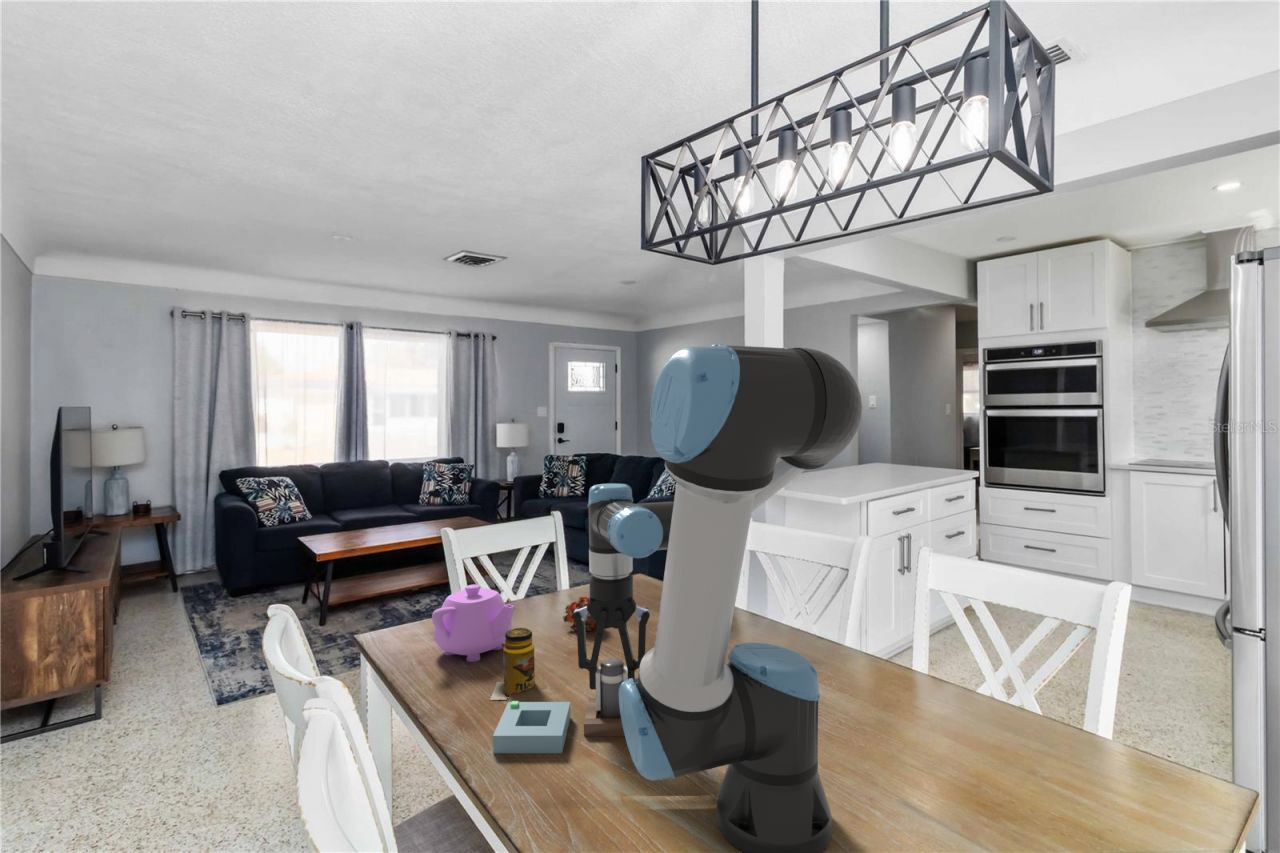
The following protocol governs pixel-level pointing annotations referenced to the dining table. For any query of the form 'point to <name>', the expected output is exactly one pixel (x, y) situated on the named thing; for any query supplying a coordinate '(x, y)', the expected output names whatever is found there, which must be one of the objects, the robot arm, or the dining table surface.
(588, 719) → the wooden square frame
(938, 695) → the dining table surface
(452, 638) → the teapot
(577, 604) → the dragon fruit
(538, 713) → the port
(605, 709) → the plug
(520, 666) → the condiment
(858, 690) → the dining table surface
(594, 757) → the dining table surface
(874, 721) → the dining table surface
